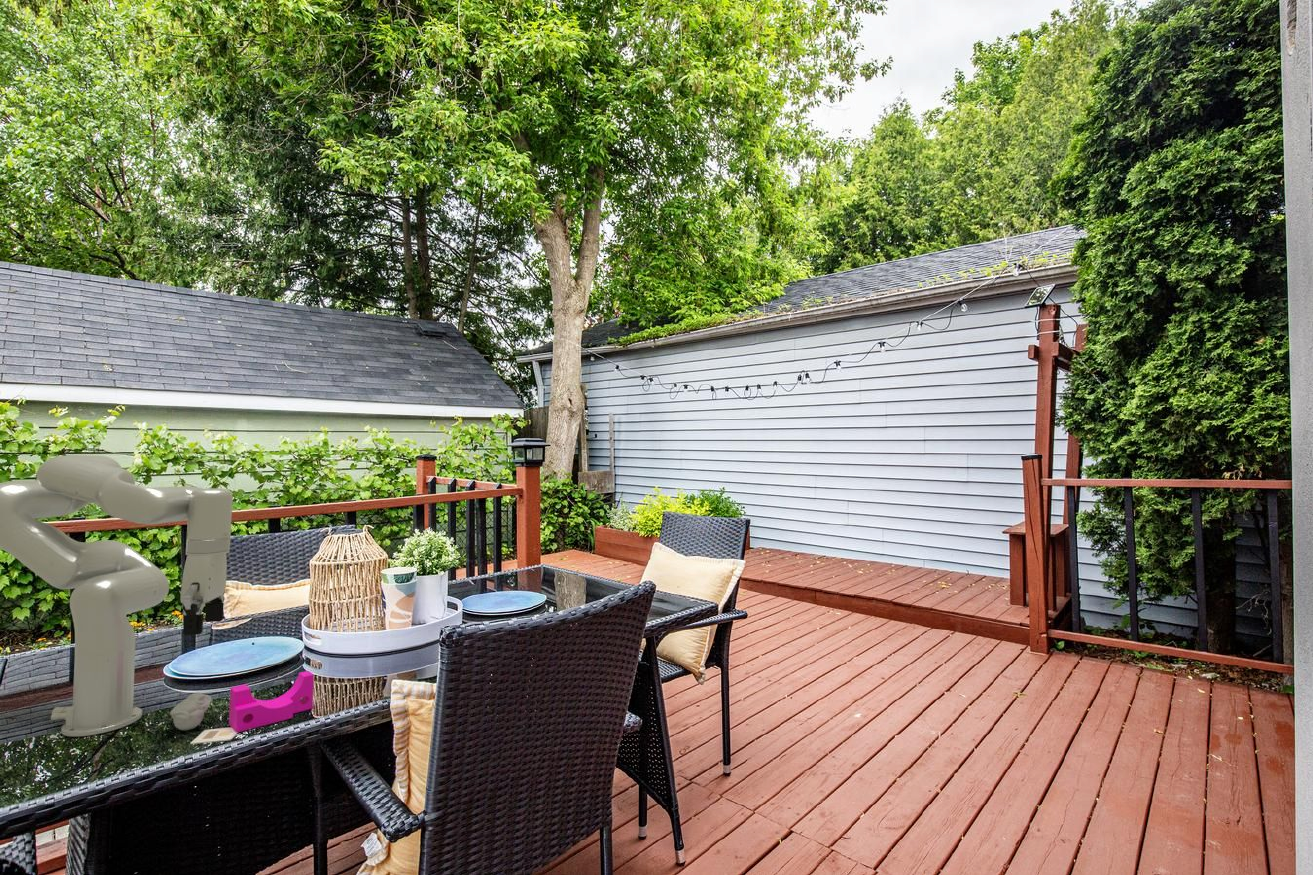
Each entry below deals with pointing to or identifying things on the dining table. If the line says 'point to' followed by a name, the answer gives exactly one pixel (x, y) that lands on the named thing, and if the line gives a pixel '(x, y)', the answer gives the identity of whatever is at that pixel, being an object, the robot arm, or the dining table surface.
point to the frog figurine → (190, 711)
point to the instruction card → (215, 735)
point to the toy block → (269, 704)
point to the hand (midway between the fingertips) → (203, 627)
